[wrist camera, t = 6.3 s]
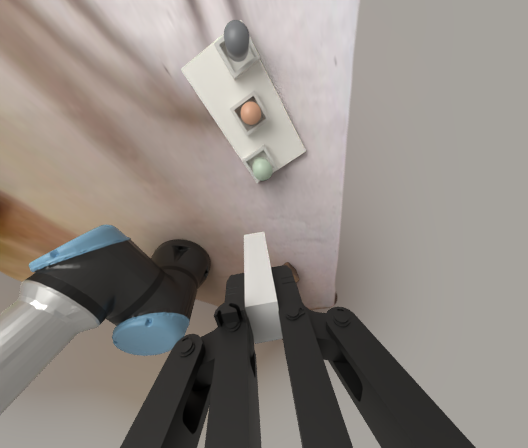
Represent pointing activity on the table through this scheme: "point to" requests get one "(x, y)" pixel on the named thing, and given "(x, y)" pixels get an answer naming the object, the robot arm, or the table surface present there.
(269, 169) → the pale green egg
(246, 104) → the terracotta plunger
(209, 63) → the button board
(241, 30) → the charcoal plunger
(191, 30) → the table surface
